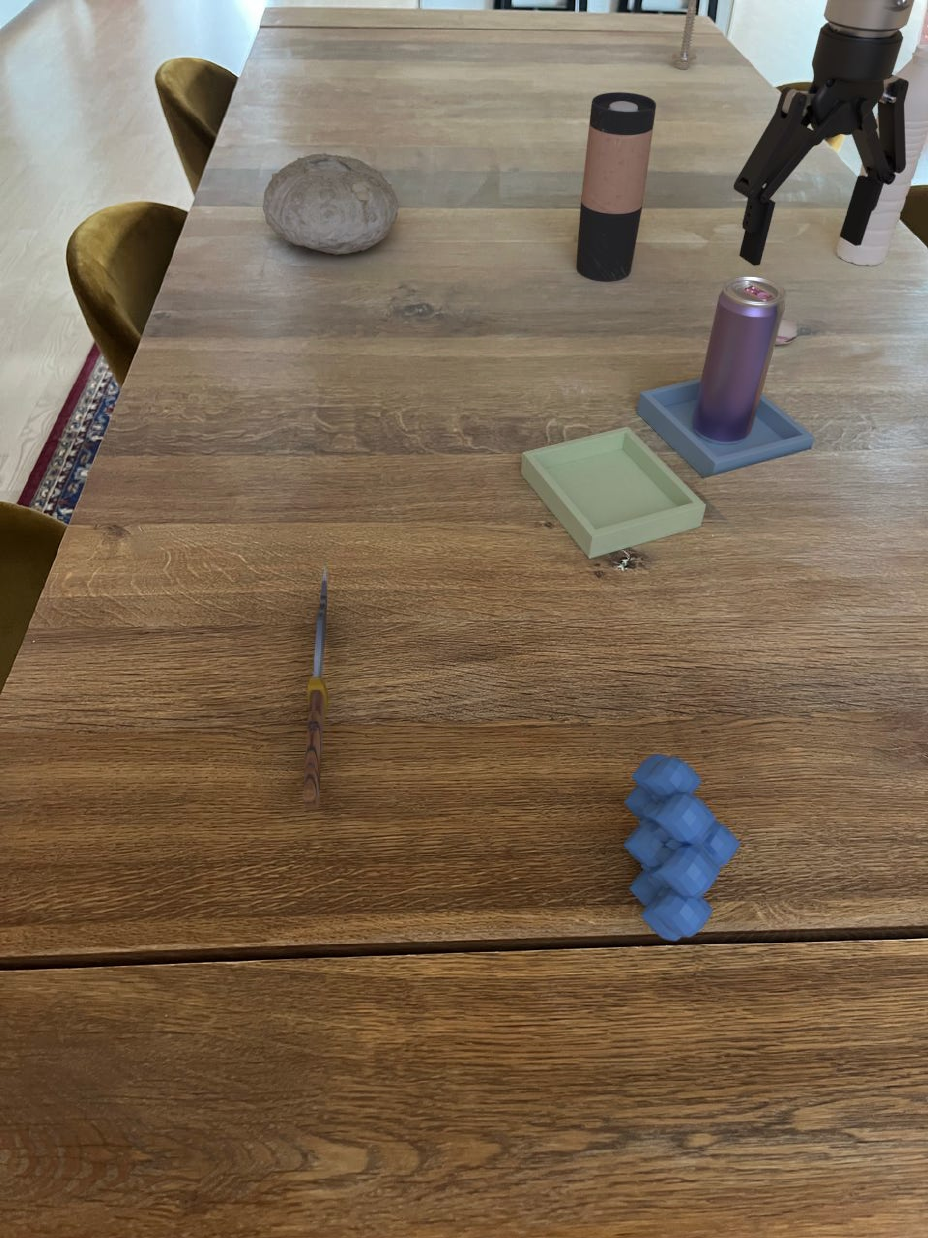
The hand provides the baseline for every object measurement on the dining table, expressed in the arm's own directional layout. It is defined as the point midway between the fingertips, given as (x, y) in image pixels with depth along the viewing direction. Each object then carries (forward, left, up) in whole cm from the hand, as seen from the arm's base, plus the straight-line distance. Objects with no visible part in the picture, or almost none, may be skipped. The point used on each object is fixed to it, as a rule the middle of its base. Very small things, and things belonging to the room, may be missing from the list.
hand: (800, 250), depth 103 cm
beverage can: (-14, +17, -10) cm, 25 cm away
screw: (+99, -52, -11) cm, 112 cm away
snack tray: (-19, +33, -11) cm, 40 cm away
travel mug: (+24, +9, -11) cm, 28 cm away
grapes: (-56, +50, -11) cm, 76 cm away
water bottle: (+14, -24, -11) cm, 30 cm away
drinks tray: (-14, +17, -11) cm, 25 cm away
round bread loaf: (+45, +39, -11) cm, 61 cm away
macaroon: (0, -1, -11) cm, 11 cm away
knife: (-32, +65, -11) cm, 74 cm away
